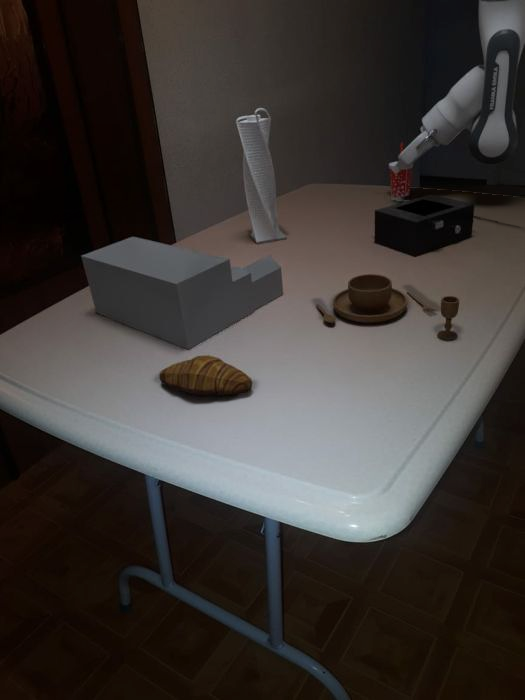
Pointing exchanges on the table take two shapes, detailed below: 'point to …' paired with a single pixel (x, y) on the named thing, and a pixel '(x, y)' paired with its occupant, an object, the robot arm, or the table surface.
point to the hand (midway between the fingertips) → (398, 167)
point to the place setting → (383, 303)
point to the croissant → (206, 377)
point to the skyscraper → (259, 178)
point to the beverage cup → (400, 181)
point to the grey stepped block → (177, 289)
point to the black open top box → (423, 224)
